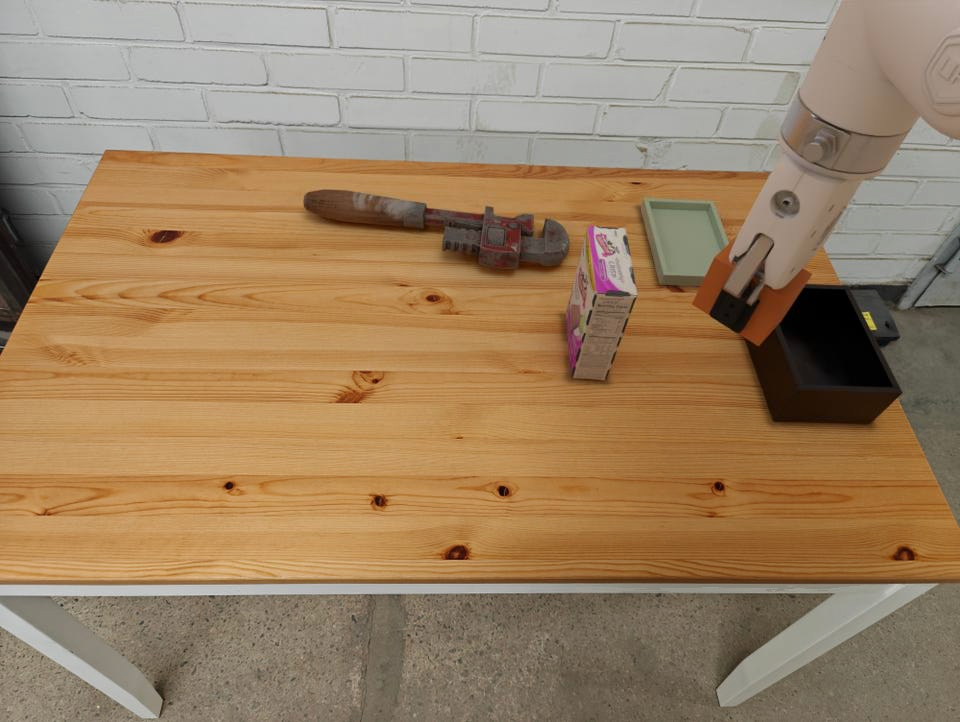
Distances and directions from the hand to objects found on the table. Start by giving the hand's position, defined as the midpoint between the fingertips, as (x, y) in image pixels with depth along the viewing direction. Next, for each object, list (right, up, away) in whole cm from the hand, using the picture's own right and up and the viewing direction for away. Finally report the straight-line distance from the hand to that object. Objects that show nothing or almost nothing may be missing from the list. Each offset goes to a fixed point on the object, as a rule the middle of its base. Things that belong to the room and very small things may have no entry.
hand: (740, 306), depth 58 cm
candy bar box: (-10, -3, +26) cm, 28 cm away
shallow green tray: (+8, +13, +40) cm, 43 cm away
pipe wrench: (-31, +13, +37) cm, 50 cm away
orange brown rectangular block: (0, 0, +1) cm, 1 cm away
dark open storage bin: (+19, -6, +26) cm, 33 cm away
